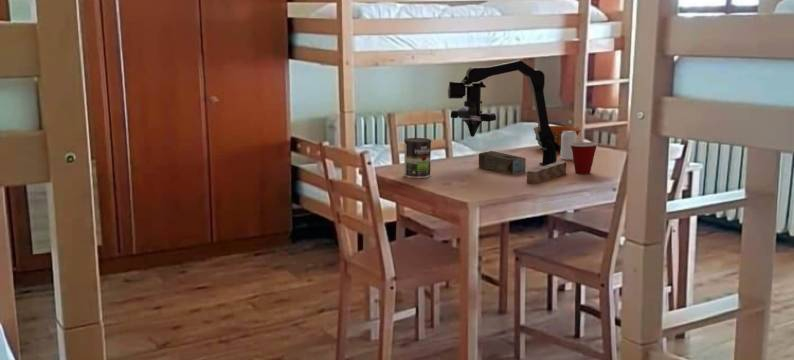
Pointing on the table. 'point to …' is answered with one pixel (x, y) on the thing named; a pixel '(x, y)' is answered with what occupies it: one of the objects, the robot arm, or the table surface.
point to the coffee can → (417, 157)
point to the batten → (546, 172)
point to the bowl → (560, 132)
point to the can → (567, 144)
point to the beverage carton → (502, 162)
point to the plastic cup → (583, 156)
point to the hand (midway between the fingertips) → (472, 136)
